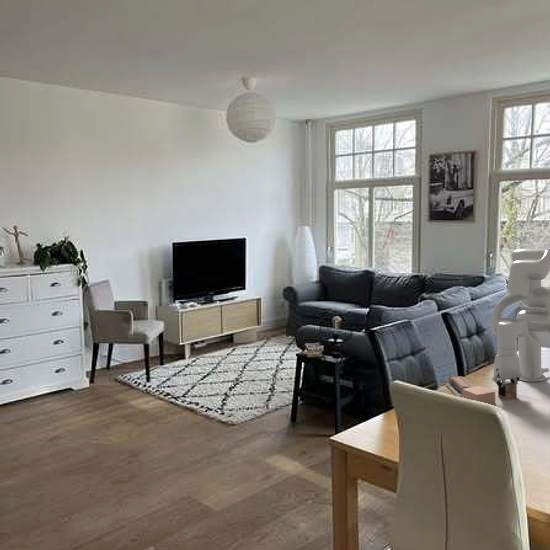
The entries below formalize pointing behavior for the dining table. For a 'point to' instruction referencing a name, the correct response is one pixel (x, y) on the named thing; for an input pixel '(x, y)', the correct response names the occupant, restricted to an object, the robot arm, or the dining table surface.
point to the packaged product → (458, 385)
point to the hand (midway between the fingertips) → (507, 394)
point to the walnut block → (509, 391)
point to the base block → (479, 394)
